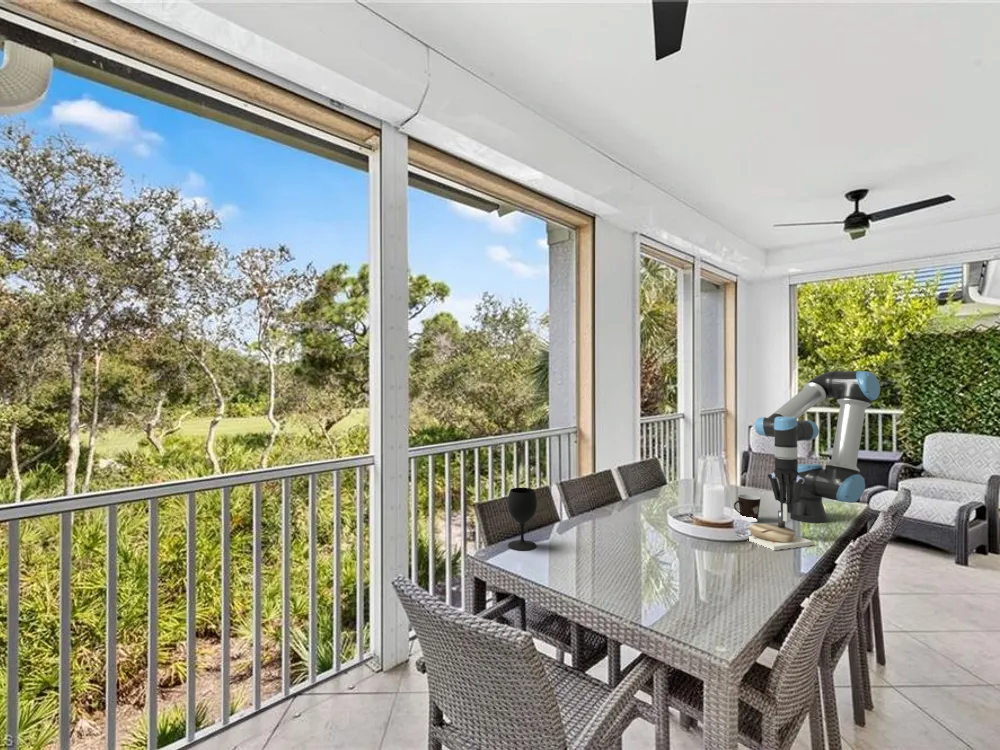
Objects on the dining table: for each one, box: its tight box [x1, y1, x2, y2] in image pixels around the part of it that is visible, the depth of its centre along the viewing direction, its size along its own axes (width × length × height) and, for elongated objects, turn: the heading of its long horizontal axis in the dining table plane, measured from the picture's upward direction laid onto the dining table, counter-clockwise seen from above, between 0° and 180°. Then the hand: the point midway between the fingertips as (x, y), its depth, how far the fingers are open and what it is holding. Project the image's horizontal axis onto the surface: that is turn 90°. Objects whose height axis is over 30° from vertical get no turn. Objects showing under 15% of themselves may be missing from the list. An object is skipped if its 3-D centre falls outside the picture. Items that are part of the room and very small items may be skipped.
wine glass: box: [507, 487, 538, 552], centre depth 179 cm, size 10×10×20 cm
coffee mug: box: [733, 494, 762, 520], centre depth 211 cm, size 12×9×10 cm
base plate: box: [748, 535, 814, 551], centre depth 186 cm, size 18×18×2 cm
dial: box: [749, 509, 797, 542], centre depth 186 cm, size 15×15×8 cm
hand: (786, 520), depth 188 cm, fingers closed
